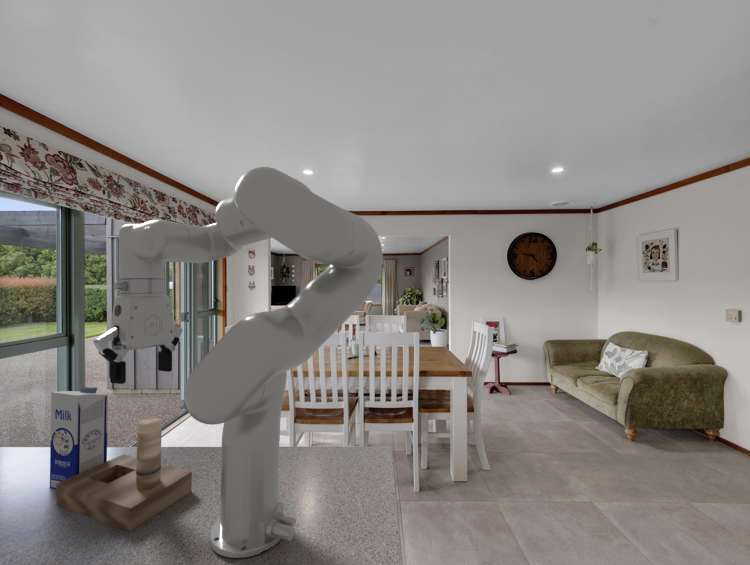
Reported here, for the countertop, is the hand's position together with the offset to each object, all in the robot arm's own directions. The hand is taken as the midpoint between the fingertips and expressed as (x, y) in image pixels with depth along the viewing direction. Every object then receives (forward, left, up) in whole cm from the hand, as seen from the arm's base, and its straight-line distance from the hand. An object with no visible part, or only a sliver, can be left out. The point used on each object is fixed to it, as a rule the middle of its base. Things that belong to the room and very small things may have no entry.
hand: (143, 376), depth 71 cm
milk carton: (+18, 0, -25) cm, 31 cm away
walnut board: (+4, 0, -25) cm, 25 cm away
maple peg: (-2, 0, -21) cm, 21 cm away
